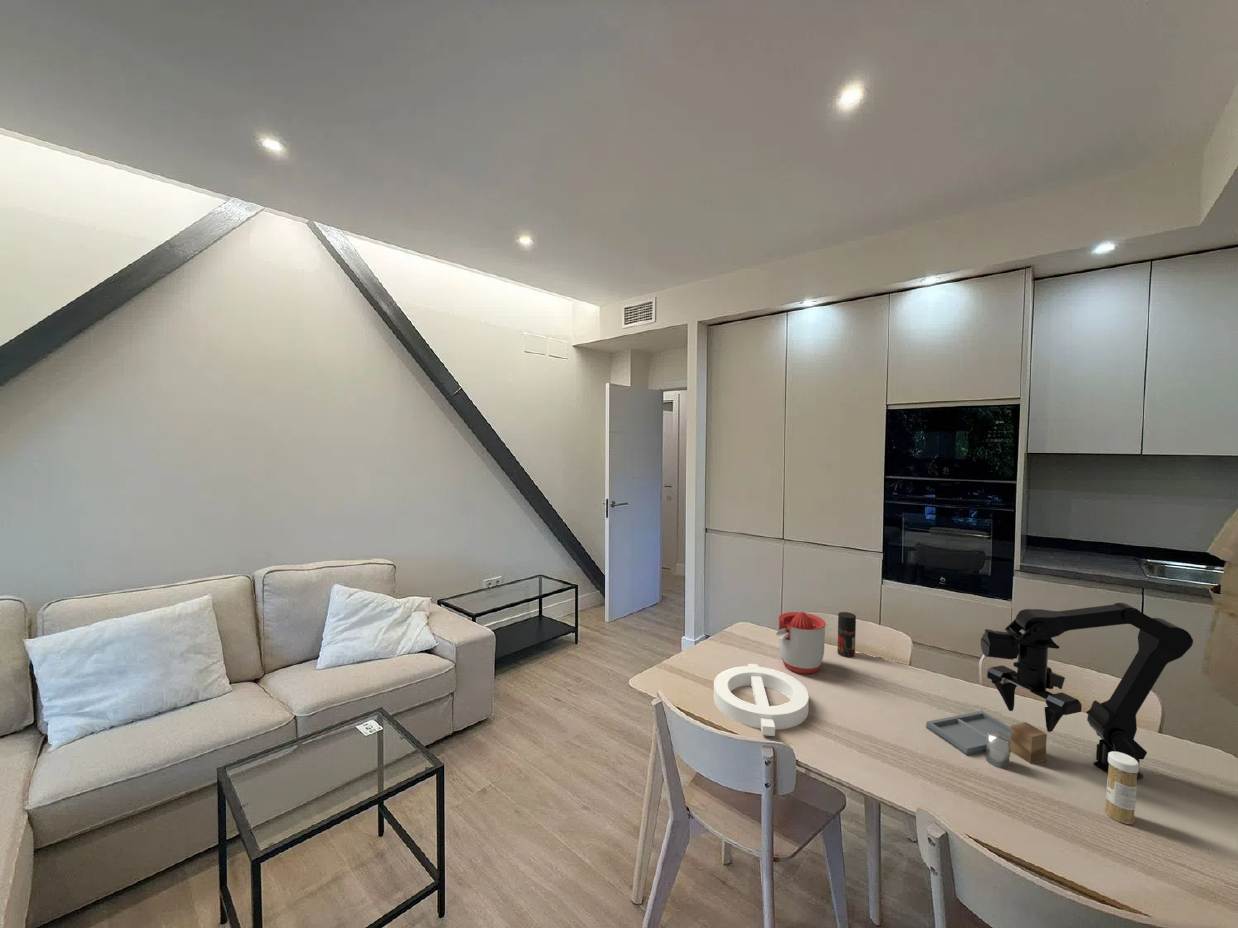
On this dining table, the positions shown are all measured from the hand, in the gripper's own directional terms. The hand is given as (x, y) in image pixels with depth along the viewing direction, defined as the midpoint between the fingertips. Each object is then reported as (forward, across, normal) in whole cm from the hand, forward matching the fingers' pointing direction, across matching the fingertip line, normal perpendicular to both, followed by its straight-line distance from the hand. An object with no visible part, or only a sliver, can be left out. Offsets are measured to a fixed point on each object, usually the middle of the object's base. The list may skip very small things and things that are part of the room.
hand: (1029, 720), depth 123 cm
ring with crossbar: (+10, +40, +53) cm, 67 cm away
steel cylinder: (+9, 0, +10) cm, 14 cm away
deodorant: (+9, +60, +5) cm, 61 cm away
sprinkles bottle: (+10, -20, +2) cm, 22 cm away
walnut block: (+9, 0, 0) cm, 9 cm away
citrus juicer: (+9, +56, +28) cm, 63 cm away
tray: (+9, +10, +5) cm, 15 cm away
